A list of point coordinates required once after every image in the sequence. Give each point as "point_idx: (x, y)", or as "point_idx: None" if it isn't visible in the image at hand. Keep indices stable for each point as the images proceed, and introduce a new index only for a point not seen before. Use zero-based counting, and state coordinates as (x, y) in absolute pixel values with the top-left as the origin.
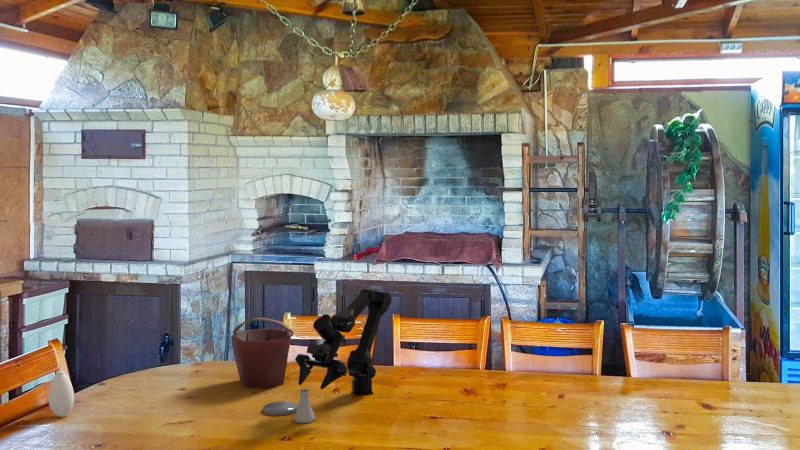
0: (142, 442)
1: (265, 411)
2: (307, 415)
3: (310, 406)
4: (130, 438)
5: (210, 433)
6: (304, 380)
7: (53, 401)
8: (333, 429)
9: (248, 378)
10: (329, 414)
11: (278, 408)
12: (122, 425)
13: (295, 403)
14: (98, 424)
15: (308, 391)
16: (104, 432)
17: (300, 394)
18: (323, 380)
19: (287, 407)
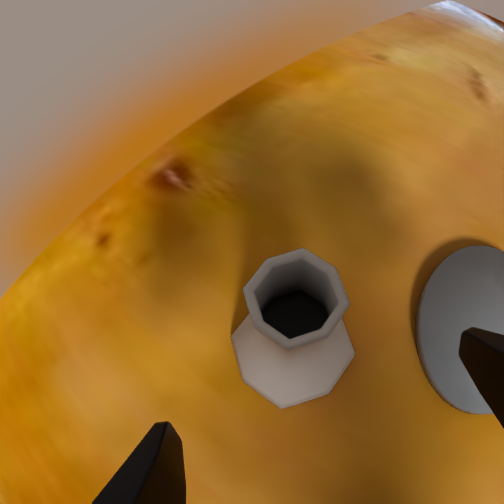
0: (386, 23)
1: (477, 246)
2: (242, 325)
3: (255, 356)
4: (415, 25)
5: (373, 75)
6: (495, 414)
7: None
8: (94, 356)
9: None
10: (266, 490)
11: (483, 307)
12: (482, 47)
13: None
14: (493, 42)
15: (252, 322)
16: (457, 28)
17: (300, 270)
18: (137, 484)
19: None
